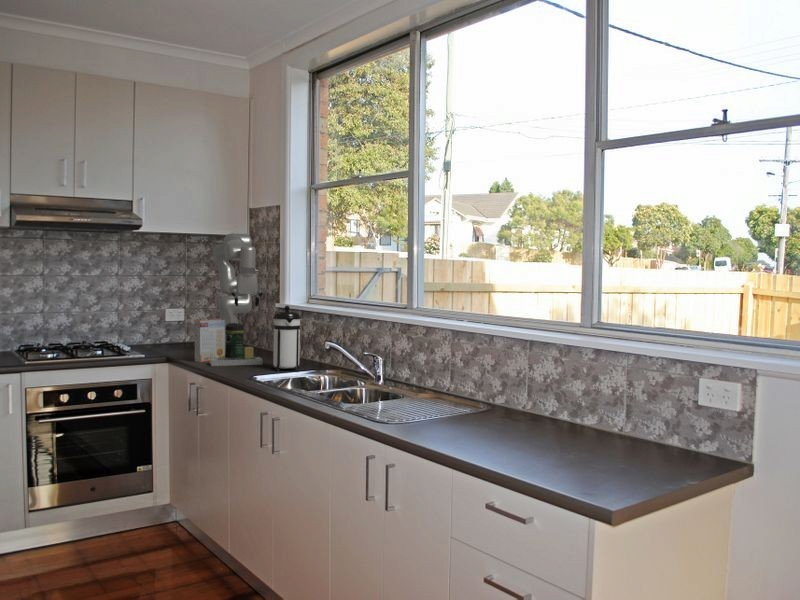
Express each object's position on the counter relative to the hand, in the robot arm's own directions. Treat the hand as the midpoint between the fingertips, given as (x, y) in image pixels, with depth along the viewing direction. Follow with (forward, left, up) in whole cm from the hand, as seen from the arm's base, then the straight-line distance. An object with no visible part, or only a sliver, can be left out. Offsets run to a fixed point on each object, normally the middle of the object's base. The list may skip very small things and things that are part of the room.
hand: (246, 305), depth 358 cm
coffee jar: (-13, -4, -28) cm, 32 cm away
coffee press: (+27, +14, -28) cm, 42 cm away
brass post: (+8, 0, -28) cm, 29 cm away
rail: (+8, -6, -28) cm, 30 cm away
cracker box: (-7, -17, -28) cm, 34 cm away
